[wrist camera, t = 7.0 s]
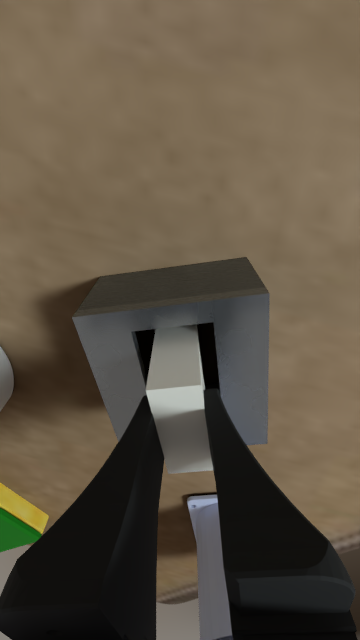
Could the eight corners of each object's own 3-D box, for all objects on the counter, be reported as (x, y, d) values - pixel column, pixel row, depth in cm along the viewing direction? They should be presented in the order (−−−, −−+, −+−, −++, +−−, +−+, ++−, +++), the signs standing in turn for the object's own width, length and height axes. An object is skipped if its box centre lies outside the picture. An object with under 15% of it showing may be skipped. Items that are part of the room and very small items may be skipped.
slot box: (250, 384, 20) (267, 443, 16) (135, 396, 20) (123, 455, 16) (246, 257, 15) (269, 293, 11) (100, 276, 16) (72, 317, 12)
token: (205, 389, 17) (213, 470, 13) (172, 392, 17) (168, 473, 13) (196, 316, 14) (201, 385, 10) (157, 320, 15) (145, 390, 10)
